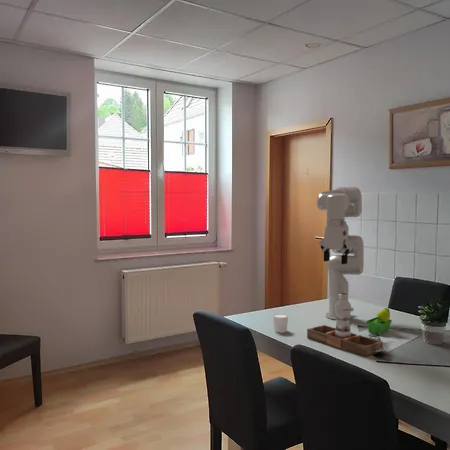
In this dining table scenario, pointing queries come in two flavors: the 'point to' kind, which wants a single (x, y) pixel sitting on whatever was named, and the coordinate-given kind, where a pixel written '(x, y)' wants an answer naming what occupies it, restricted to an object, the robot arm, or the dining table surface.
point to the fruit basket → (380, 322)
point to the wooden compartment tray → (344, 341)
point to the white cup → (280, 323)
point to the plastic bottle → (343, 317)
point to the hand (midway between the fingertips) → (335, 262)
